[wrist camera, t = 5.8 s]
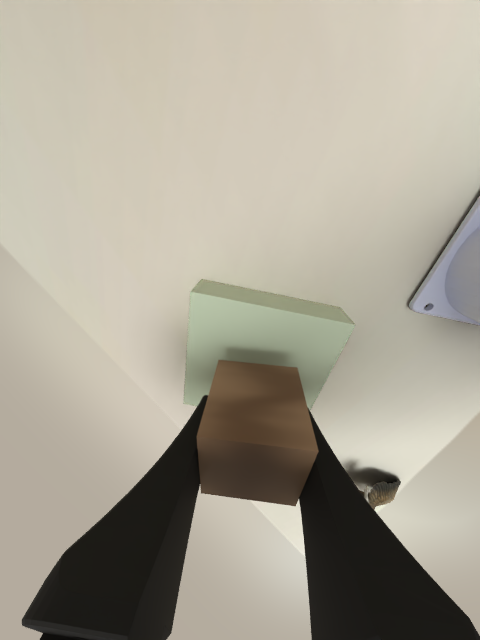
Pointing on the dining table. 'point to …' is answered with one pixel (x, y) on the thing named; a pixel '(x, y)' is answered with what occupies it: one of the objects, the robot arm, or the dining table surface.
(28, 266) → the dining table surface
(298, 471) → the walnut cube
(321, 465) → the robot arm
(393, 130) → the dining table surface
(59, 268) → the dining table surface
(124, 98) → the dining table surface
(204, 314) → the green block
